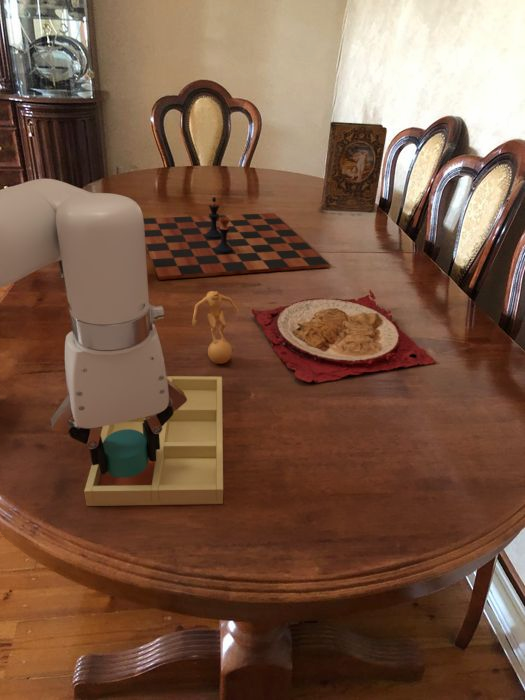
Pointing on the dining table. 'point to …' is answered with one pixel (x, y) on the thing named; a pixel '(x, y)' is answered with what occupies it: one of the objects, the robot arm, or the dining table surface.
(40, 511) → the dining table surface
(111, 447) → the cylinder
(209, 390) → the grid
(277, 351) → the plate with food
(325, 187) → the book
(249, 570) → the dining table surface
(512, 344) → the dining table surface
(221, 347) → the figurine
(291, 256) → the chessboard
